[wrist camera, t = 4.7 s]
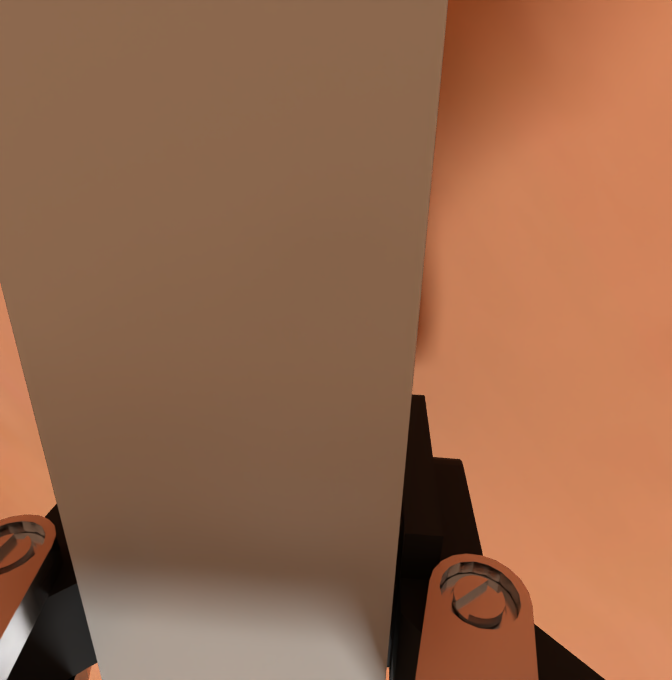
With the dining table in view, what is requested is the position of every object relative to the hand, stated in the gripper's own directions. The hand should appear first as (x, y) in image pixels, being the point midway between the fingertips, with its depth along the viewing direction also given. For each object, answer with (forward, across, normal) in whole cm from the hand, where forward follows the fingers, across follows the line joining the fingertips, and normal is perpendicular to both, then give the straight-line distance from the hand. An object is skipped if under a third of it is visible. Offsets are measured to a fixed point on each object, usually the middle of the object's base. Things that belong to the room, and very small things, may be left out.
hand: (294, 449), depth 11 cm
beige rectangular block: (+1, 0, 0) cm, 1 cm away
